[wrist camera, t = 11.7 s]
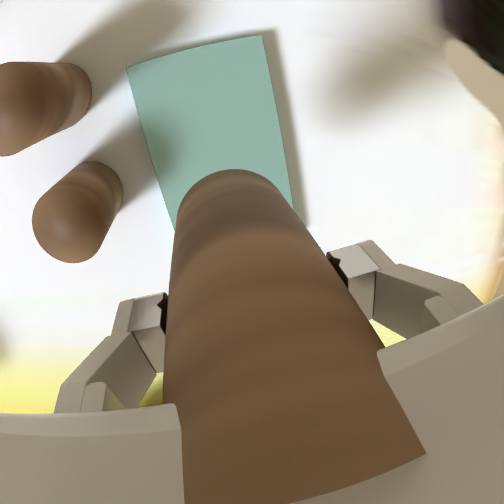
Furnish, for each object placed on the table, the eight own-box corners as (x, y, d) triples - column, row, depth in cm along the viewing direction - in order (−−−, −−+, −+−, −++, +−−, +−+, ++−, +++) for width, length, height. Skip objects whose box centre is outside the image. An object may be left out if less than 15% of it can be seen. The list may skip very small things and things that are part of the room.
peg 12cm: (162, 186, 13) (102, 507, 3) (278, 157, 13) (491, 403, 3) (194, 281, 15) (215, 549, 5) (294, 256, 16) (410, 497, 5)
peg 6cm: (55, 174, 21) (20, 203, 16) (111, 152, 21) (85, 176, 16) (78, 230, 23) (53, 270, 18) (132, 212, 23) (116, 251, 18)
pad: (129, 68, 18) (126, 67, 17) (258, 37, 18) (261, 34, 17) (188, 262, 26) (188, 270, 25) (294, 235, 27) (298, 241, 26)
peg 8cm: (26, 81, 16) (-37, 90, 10) (83, 52, 17) (31, 44, 10) (43, 139, 19) (-14, 170, 12) (99, 114, 19) (54, 133, 12)
